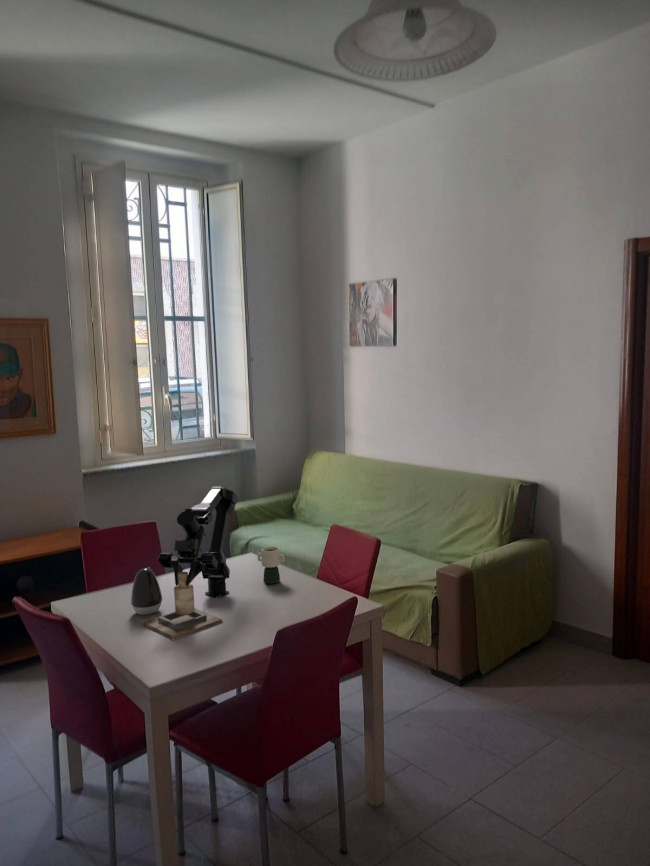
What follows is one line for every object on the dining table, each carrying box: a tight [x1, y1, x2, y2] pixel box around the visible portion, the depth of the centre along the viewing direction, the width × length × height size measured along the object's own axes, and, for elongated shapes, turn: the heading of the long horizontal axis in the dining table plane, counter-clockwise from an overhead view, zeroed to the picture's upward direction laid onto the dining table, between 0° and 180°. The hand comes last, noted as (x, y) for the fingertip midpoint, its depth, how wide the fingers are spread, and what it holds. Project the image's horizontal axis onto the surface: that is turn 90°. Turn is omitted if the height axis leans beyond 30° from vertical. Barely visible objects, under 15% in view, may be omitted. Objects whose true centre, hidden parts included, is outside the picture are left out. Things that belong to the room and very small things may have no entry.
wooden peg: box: [173, 571, 196, 615], centre depth 210 cm, size 6×6×12 cm
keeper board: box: [142, 607, 223, 641], centre depth 212 cm, size 18×18×2 cm
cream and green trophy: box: [257, 545, 285, 584], centre depth 249 cm, size 11×7×13 cm, turn 71°
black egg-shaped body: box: [130, 566, 163, 616], centre depth 223 cm, size 10×10×15 cm
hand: (181, 585), depth 209 cm, fingers closed on wooden peg, 3 cm apart
